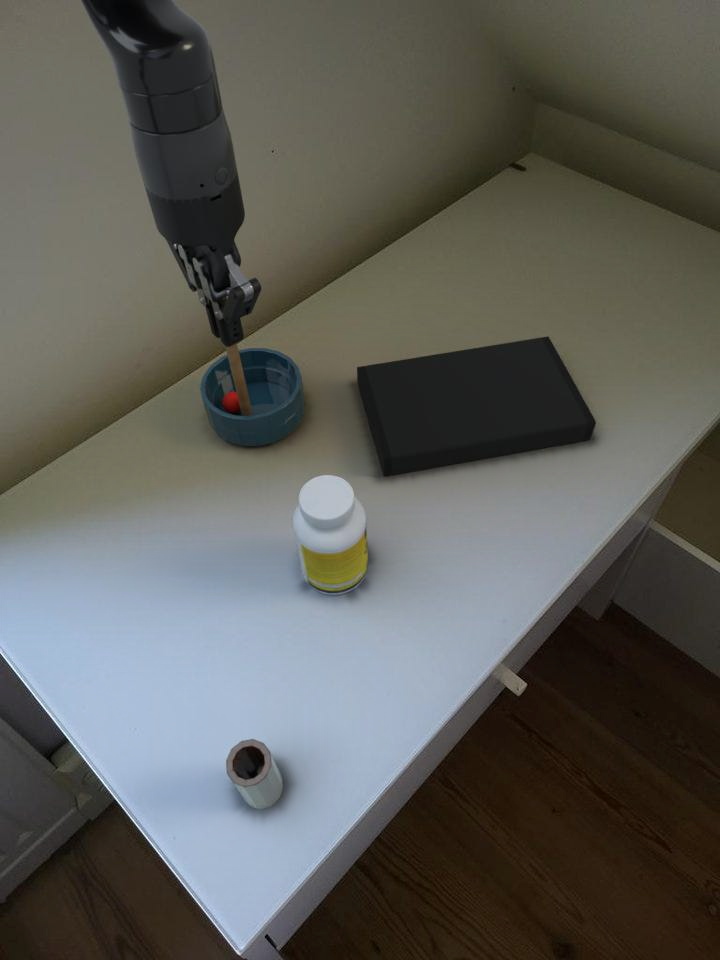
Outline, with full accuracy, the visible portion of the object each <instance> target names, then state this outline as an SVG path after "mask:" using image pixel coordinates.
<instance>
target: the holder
mask: <svg viewBox="0 0 720 960" xmlns="http://www.w3.org/2000/svg"><path fill="white" fill-rule="evenodd" d="M225 766H226V767H225V769H226V774H227V776H228V777H229V779H230V780H231V782H232V783H233V784H234V786H235V788H236V789H237V790H238V792H239V793H240V795H241V797H242V798H243V799H244V801H245V802H246V804H248V805H249V806H250V807H251V808H254V809H258V810H264V809H268V808H270V807H272V806H273V805H275V804H276V803H277V802H278V800H279V799H280V797H281V795H282V792H283V788H284V785H283V783H284V782H283V778H282V775H281V772H280V770H279V768H278V766H277V764H276V762H275V759H274V757H273V755H272V753H271V750H269V747H268V746H267V745H266V743H264V742H262V741H260V740H257V739H254V738H251V739H250V738H249V739H245V740H244V739H243V740H241V741H239V743H237V744H236V745H234V746H233V747H232V748H231V749H230V751H229V753H228V756H227V758H226V760H225Z"/></svg>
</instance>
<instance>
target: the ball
mask: <svg viewBox="0 0 720 960" xmlns="http://www.w3.org/2000/svg"><path fill="white" fill-rule="evenodd" d="M222 404H223V407H224V409H225V410H226V411H227V412H229V413H237V412H239V411H241V409H240V405H239V401H238V396H237V393H236V392H230V393H227V394H226V395H225V396H224V398H223V401H222Z"/></svg>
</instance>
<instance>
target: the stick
mask: <svg viewBox="0 0 720 960" xmlns="http://www.w3.org/2000/svg"><path fill="white" fill-rule="evenodd" d="M227 298H228V296H227V297H225V298H223V299H222V304H223V303H225V302H226V301H227ZM224 347H225V352H226V355H228V359H229V364H230V368H231V372H232V376H233V380H234V384H235V388H236V392H237V396H238V401H239V405H240V409H241V413H242V415H244V416H249V415H250V414H251V413H252V408H251V404H250V399H249V395H248V391H247V386H246V382H245V377H244V373H243V368H242V364H241V359H240V355H239V350H240V349H239V346H238V343H236V344H234V345H232V346H230V347H226V346H225V345H224Z"/></svg>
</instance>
